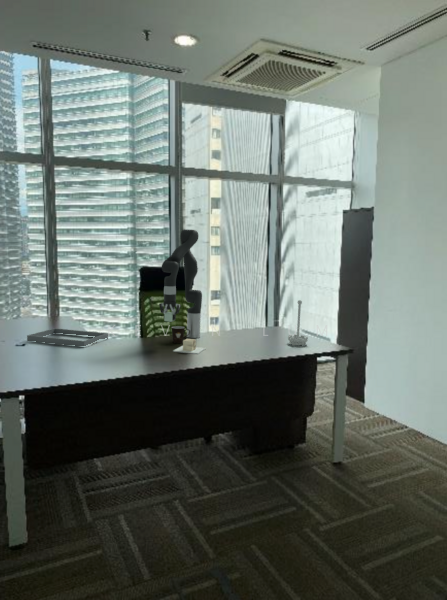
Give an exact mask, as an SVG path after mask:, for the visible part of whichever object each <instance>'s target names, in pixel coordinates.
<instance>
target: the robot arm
mask: <svg viewBox="0 0 447 600" xmlns="http://www.w3.org/2000/svg"><path fill="white" fill-rule="evenodd" d="M198 241H199V231H198V230H197V229H186V228H185V229H182V230H181V231H180V243H181V245H179V246H177V247H176V248H175V249H174V251H173V252H172V253H171V255H170V256H169V257H167V258H166V259H165V260H164V261H163V262H162V264H161V271H163V273H169V274H170V275H168V276H165V277H164V282H163V283H164V287H163V302H161V303H159V304H158V306H159V309H160V313H161V314H163V315H164V313H166V312H169V311H168V310H171V311H170V312H172V313H173V321H172V322H174V320H175V321H176V318H177V314H178V315H179V313H180V310H181V304H178V303H177V288H176V287H177V286H176V285H177V283H176V282H177V277H178V276H177V275H178V274H179V273H178V272H179V269H180V267H179V266H180V265H179V264H180V263H181V262H182V260H183V271H184V285H185V287H184V289H185V290H184V293H185V294H184V295H185V296H184V297H185V301H186V302H187V303H188V304H189V303H190V304H193V306H192V307H188V308H187V311H186V313H187V315H186V317H187V318H186V319H187V321H186V329H189V330H190V334H189V330H186V335H188V334H189V335H188V336H186V338H188V339H198V338H201V317H202V316H201V315H202V314H201V312H202V302H203V293H202V291H201V290H198V289H193V287H192V286H193V285H192V284H193V282H194V280H195V278H196V277H197V274H198V271H199V270H198V269H199V268H198V261H197V259H196V257H195V256H194V254H193V253H192V251H191V249H192V248H193V247H194V246H195V245H196V243H197V242H198ZM175 307H176V308H175Z"/></svg>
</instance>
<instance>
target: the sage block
mask: <svg viewBox="0 0 447 600" xmlns="http://www.w3.org/2000/svg"><path fill="white" fill-rule="evenodd" d="M163 320H164V321H163V322H170V323H171V322H174V321H176V319H175V320H174V321H173V313H172V311H167V312H166V313H164V314H163Z"/></svg>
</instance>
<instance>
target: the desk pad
mask: <svg viewBox="0 0 447 600" xmlns="http://www.w3.org/2000/svg"><path fill="white" fill-rule="evenodd" d="M206 348H207V347H199V346H196V349H195V350H193V351H185V350H183V345H181V346H179V347H177V348H175V349H173V350H172V352H173V353H174V352H175V353H182V354H183V353H184V354H194V355H199V354H201V353H202V352H204V351H205V350H206Z"/></svg>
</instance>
